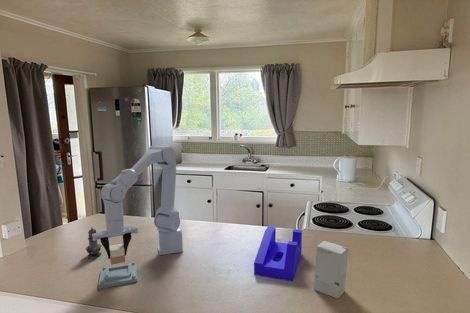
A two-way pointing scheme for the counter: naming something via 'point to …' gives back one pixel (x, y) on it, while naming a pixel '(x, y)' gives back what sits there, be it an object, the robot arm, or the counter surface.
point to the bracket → (278, 256)
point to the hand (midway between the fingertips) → (117, 256)
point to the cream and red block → (117, 254)
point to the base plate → (118, 275)
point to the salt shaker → (93, 246)
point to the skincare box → (331, 269)
